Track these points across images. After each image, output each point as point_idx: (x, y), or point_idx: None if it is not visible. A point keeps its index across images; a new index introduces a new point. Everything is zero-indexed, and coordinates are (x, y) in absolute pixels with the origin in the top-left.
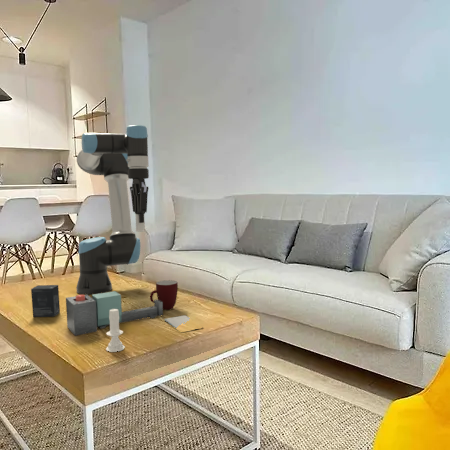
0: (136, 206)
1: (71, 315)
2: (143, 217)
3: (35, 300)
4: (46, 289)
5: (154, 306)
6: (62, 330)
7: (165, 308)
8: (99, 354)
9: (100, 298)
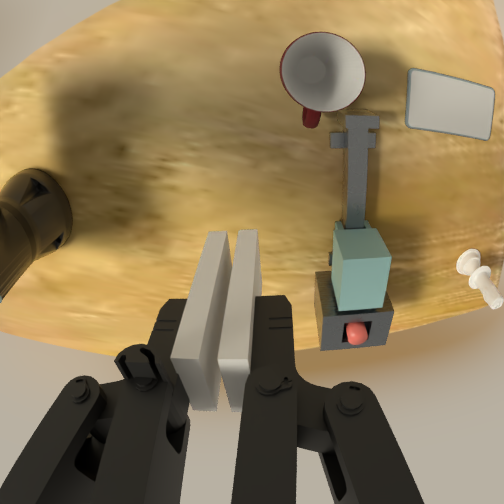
0: (177, 486)
1: None
2: (292, 342)
3: None
4: None
5: (352, 128)
6: None
7: (326, 82)
8: (467, 283)
9: (383, 300)
